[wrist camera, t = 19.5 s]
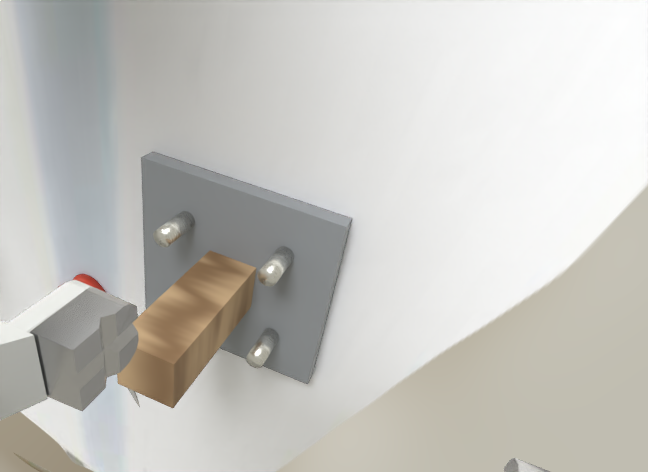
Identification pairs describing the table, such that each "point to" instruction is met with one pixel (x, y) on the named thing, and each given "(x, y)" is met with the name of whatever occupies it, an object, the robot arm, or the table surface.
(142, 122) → the table surface
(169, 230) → the standoff pins
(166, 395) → the oak block
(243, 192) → the plate
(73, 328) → the robot arm
